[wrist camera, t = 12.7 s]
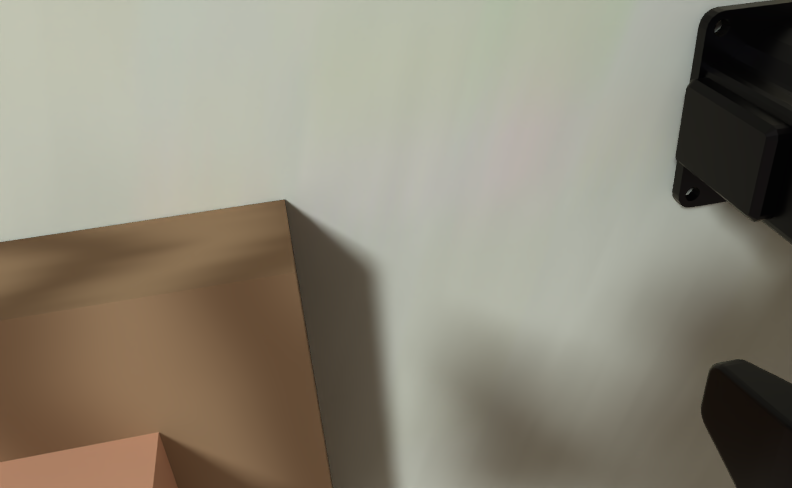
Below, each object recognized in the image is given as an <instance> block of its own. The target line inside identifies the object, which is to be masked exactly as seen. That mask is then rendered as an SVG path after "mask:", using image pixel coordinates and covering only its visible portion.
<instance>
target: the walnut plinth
mask: <svg viewBox="0 0 792 488" xmlns="http://www.w3.org/2000/svg"><path fill="white" fill-rule="evenodd" d="M157 432H159V435H160V437H161V440H162V443H163V446H164V449H165V452H166V455H167V458H168V461H169V463H170V466H171V469H172V472H173V475H174V478H175V481H176V484H177V487H178V488H333V486H332V480H331V474H330V468H329V462H328V456H327V450H326V444H325V438H324V432H323V426H322V420H321V414H320V408H319V402H318V396H317V390H316V384H315V378H314V372H313V366H312V360H311V354H310V348H309V342H308V336H307V330H306V324H305V318H304V312H303V306H302V300H301V294H300V288H299V282H298V276H297V270H296V264H295V258H294V252H293V246H292V241H291V235H290V229H289V223H288V217H287V211H286V205H285V200H279V201H272V202H265V203H259V204H252V205H245V206H239V207H232V208H225V209H219V210H212V211H205V212H199V213H192V214H185V215H179V216H172V217H165V218H159V219H152V220H145V221H139V222H132V223H126V224H119V225H112V226H106V227H99V228H92V229H86V230H79V231H72V232H66V233H59V234H52V235H46V236H39V237H32V238H26V239H19V240H12V241H6V242H0V462H5V461H10V460H15V459H20V458H26V457H31V456H36V455H41V454H47V453H52V452H57V451H62V450H68V449H73V448H78V447H83V446H88V445H94V444H99V443H104V442H109V441H115V440H120V439H125V438H130V437H136V436H141V435H146V434H151V433H157Z"/></svg>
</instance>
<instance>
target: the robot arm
mask: <svg viewBox="0 0 792 488" xmlns="http://www.w3.org/2000/svg"><path fill="white" fill-rule="evenodd" d="M720 20H722V26H721V28H720V29H719V30H718V31H717V32H714V27H715V25H716V24H717V23H718V21H720ZM676 159H677V166H676V172H675V178H674V184H673V191H672V192H673V197H674V199H675V200H676V201H677V202H678V203H679V204H681V205H682V206H684V207H695V206H701V205H707V204H713V203H719V202H726V201H728V202H729V203H730V204H732V205H733V206H734V207H735V208H736V209H738V210H739V211H740V212H741V213H743V214H744V215H745V216H746V217H748V218H749V219H750V220H752V221H754V222H755V221H763V222H764V223H765V224H766V225H768V226H769V227H770V228H771V229H773V230H774V231H775V232H777V233H778V234H779V235H780V236H782V237H783V238H784V239H785V240H787V241H788V242H789V243H790V244H792V0H770V1H762V2H754V3H746V4H738V5H730V6H722V7H716V8H713V9H711V10H709V11H708V12H707V13H705V15H704V16H703V17H702V19H701V21H700V24H699V28H698V34H697V40H696V47H695V53H694V59H693V65H692V72H691V78H690V83H689V85H688V86H687V88H686V94H685V100H684V107H683V113H682V119H681V126H680V132H679V138H678V145H677V151H676ZM691 188H693V190H692V191H691V192H690V193H689V194H688V195H686V193H687V191H688V190H689V189H691ZM701 414H702V418H703V422H704V424H705V426H706V428H707V430H708V432H709V434H710V436H711V438H712V440H713V442H714V444H715V446H716V448H717V450H718V452H719V454H720V456H721V458H722V460H723V462H724V464H725V466H726V468H727V470H728V472H729V474H730V476H731V478H732V480H733V482H734V484H735V486H736V488H792V384H791V383H789V382H787V381H785V380H783V379H781V378H779V377H777V376H775V375H773V374H771V373H769V372H767V371H765V370H763V369H761V368H759V367H757V366H755V365H753V364H751V363H749V362H747V361H745V360H739V359H737V360H731V361H726V362H721V363H716V364H714V365H713V366H712V367H711V368H710V370H709V373H708V377H707V382H706V386H705V391H704V395H703V400H702V404H701Z"/></svg>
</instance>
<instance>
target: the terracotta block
mask: <svg viewBox="0 0 792 488" xmlns="http://www.w3.org/2000/svg"><path fill="white" fill-rule="evenodd" d="M0 488H178V487H177V484H176V481H175V478H174V475H173V472H172V469H171V466H170V463H169V461H168V458H167V455H166V452H165V449H164V446H163V443H162V440H161V437H160V435H159V432H157V433H151V434H146V435H141V436H136V437H130V438H125V439H120V440H115V441H109V442H104V443H99V444H94V445H88V446H83V447H78V448H73V449H68V450H62V451H57V452H52V453H47V454H41V455H36V456H31V457H26V458H20V459H15V460H10V461H5V462H0Z"/></svg>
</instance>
